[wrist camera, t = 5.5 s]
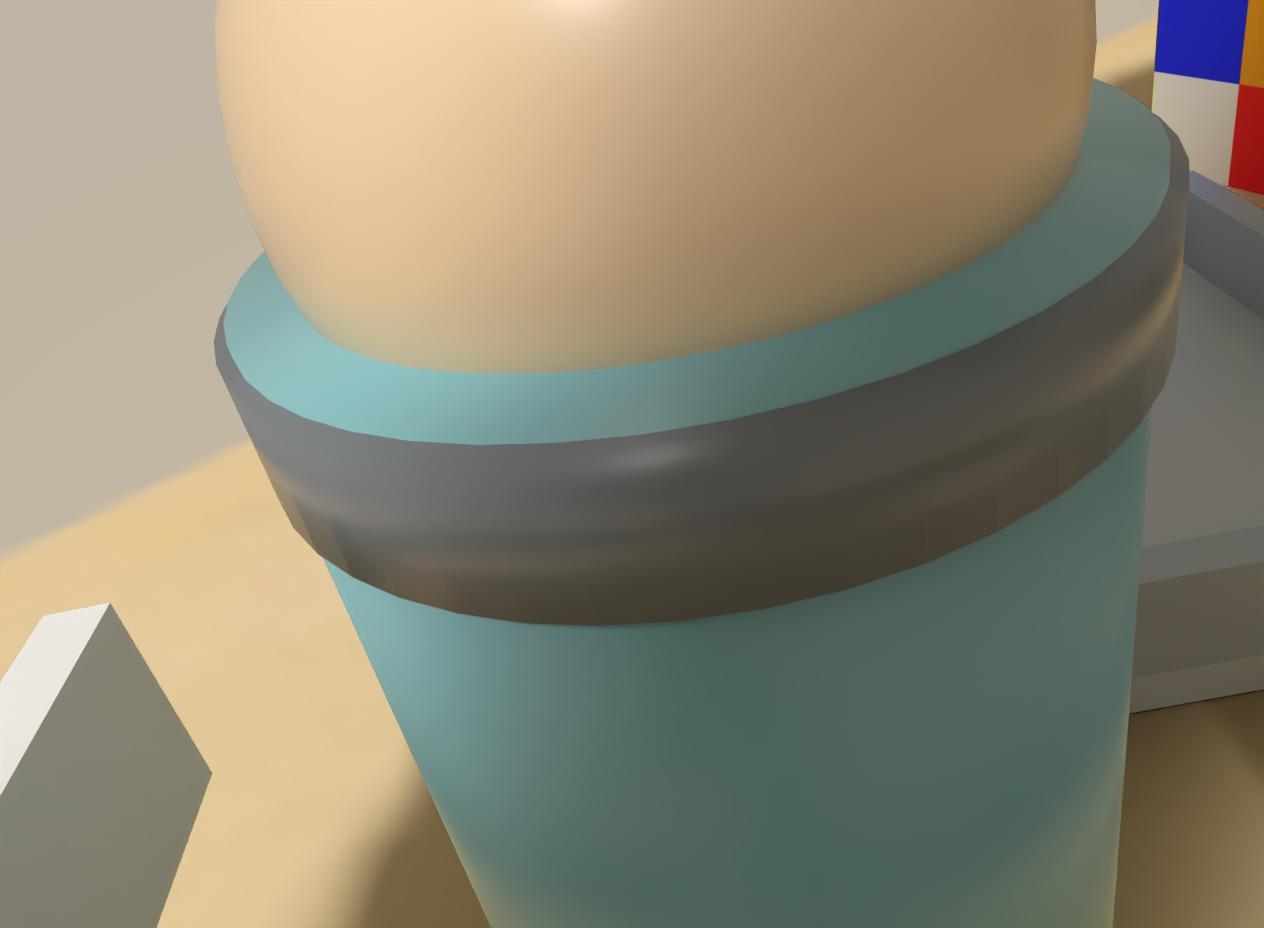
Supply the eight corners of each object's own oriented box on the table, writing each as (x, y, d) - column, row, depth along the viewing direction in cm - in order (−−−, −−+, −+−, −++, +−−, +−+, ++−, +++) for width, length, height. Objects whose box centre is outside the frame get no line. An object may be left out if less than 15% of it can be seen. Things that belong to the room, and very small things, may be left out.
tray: (1185, 265, 30) (1193, 170, 29) (1671, 616, 17) (1733, 474, 15) (654, 372, 31) (636, 285, 30) (722, 786, 18) (696, 665, 16)
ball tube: (996, 849, 16) (967, -447, 8) (1210, 1367, 11) (1805, -980, 3) (594, 919, 16) (170, -250, 8) (608, 1452, 11) (-547, -356, 3)
